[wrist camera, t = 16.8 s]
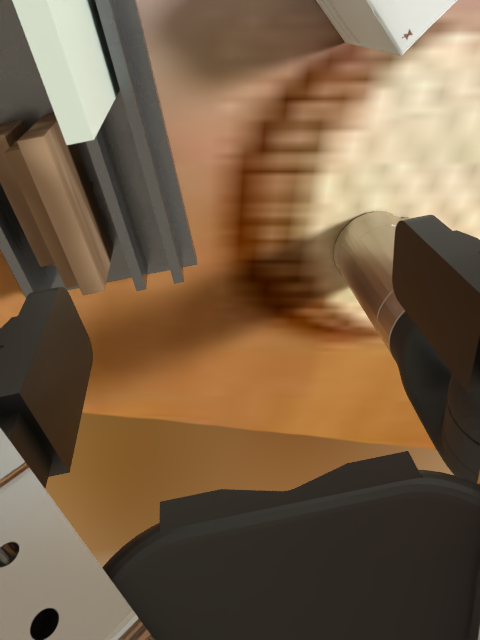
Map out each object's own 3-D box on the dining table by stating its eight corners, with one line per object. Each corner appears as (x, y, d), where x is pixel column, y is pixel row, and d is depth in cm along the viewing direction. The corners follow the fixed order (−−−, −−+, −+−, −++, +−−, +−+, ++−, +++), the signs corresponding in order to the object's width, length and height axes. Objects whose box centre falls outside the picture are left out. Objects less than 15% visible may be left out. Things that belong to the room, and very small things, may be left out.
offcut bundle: (65, 111, 41) (43, 136, 34) (113, 247, 49) (104, 291, 42) (0, 124, 41) (-37, 151, 34) (59, 258, 49) (40, 303, 42)
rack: (81, -232, 30) (63, -280, 25) (196, 258, 53) (199, 287, 48) (-199, -183, 30) (-276, -220, 25) (37, 289, 53) (22, 321, 47)
